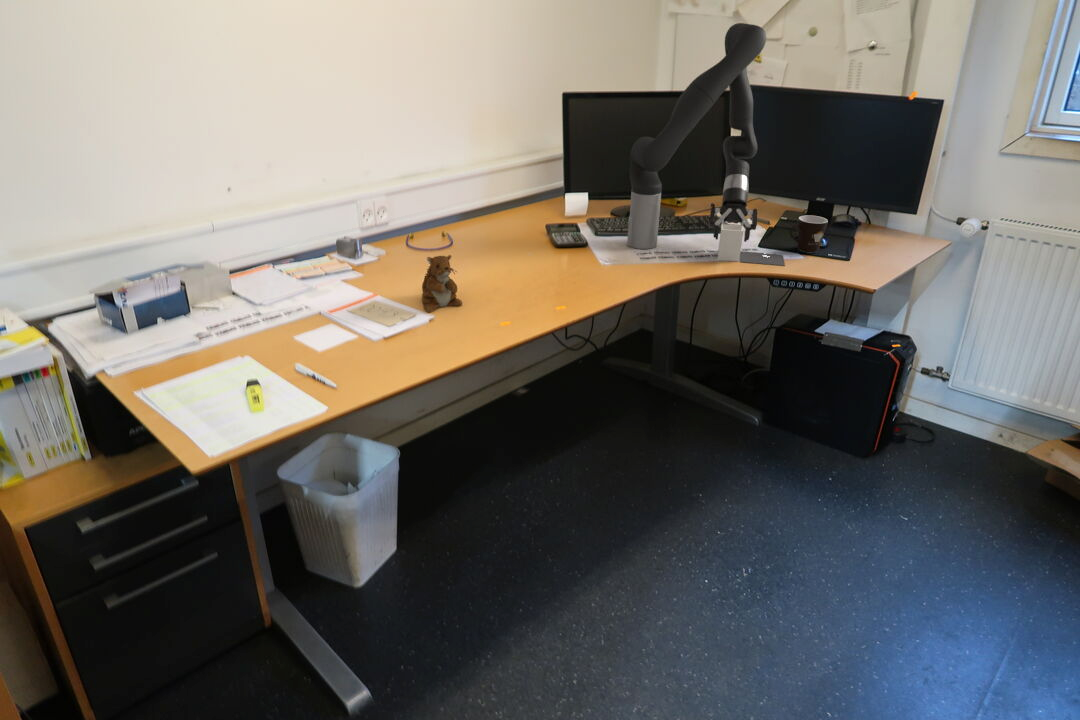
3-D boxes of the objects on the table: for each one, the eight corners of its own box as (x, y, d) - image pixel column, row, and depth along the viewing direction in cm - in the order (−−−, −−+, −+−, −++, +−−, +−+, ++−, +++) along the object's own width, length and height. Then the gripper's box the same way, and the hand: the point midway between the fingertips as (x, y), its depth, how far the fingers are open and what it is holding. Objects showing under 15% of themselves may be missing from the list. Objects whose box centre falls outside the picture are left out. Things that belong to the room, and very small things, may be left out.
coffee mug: (818, 246, 239) (824, 216, 234) (824, 255, 231) (831, 223, 227) (781, 244, 240) (786, 214, 235) (786, 253, 232) (791, 222, 228)
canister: (717, 259, 226) (721, 229, 222) (717, 253, 232) (721, 223, 228) (739, 261, 225) (743, 231, 221) (738, 254, 231) (743, 225, 226)
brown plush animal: (427, 314, 187) (424, 265, 181) (412, 295, 199) (409, 247, 193) (465, 308, 191) (463, 260, 185) (448, 289, 202) (446, 243, 196)
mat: (740, 262, 224) (740, 261, 224) (739, 251, 233) (739, 251, 233) (784, 266, 222) (785, 265, 222) (782, 255, 231) (783, 254, 230)
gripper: (712, 184, 228) (707, 231, 224) (760, 187, 226) (756, 235, 221) (711, 197, 235) (706, 243, 231) (757, 200, 233) (753, 247, 228)
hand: (731, 239), depth 226 cm, fingers open, 8 cm apart
